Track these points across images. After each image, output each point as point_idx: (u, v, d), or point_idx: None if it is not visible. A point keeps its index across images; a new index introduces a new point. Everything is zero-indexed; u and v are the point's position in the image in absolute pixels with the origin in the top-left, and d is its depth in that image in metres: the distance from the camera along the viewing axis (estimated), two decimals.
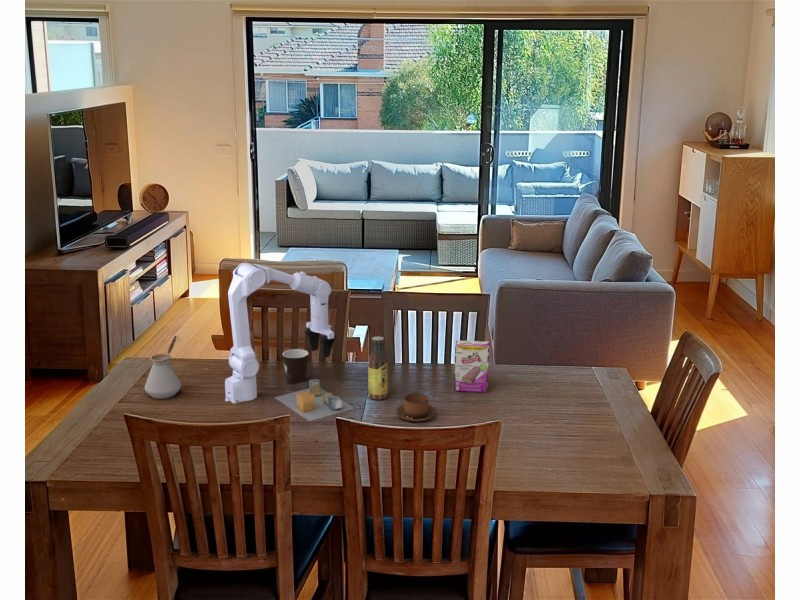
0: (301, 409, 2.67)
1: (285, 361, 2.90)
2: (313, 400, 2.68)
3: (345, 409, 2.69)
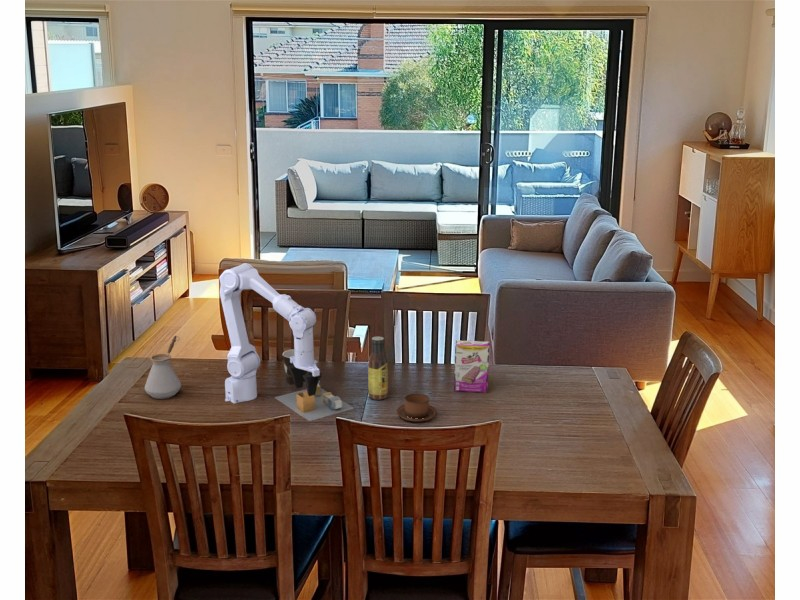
0: (301, 409, 2.67)
1: (285, 361, 2.90)
2: (313, 400, 2.68)
3: (345, 409, 2.69)
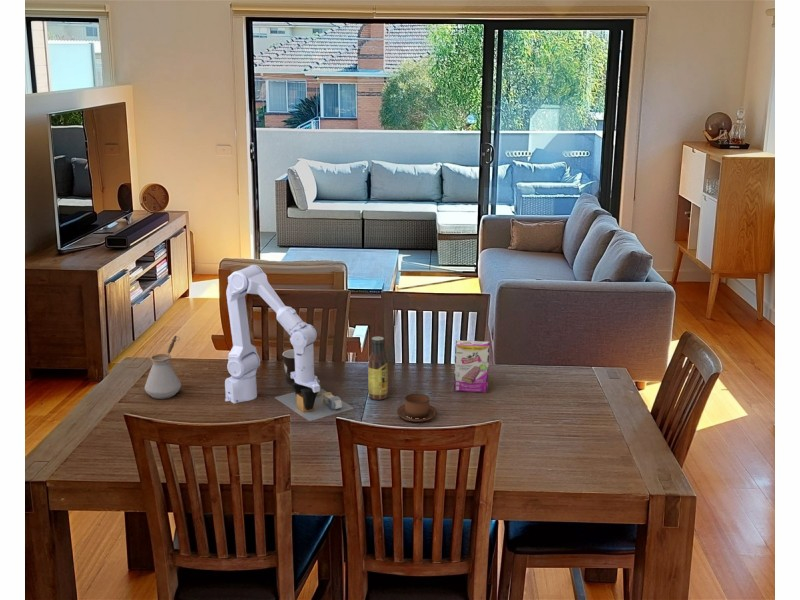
0: (301, 409, 2.67)
1: (285, 361, 2.90)
2: None
3: (345, 409, 2.69)
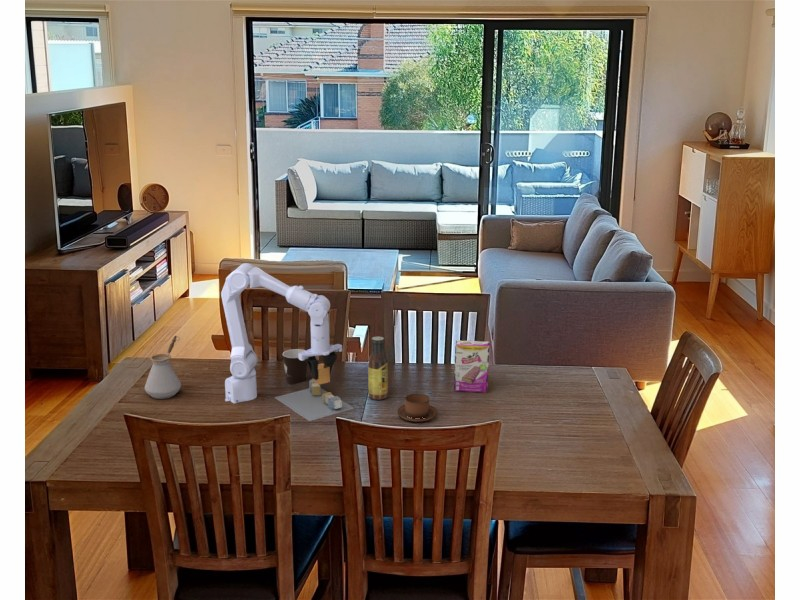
0: None
1: (285, 361, 2.90)
2: None
3: (345, 409, 2.69)
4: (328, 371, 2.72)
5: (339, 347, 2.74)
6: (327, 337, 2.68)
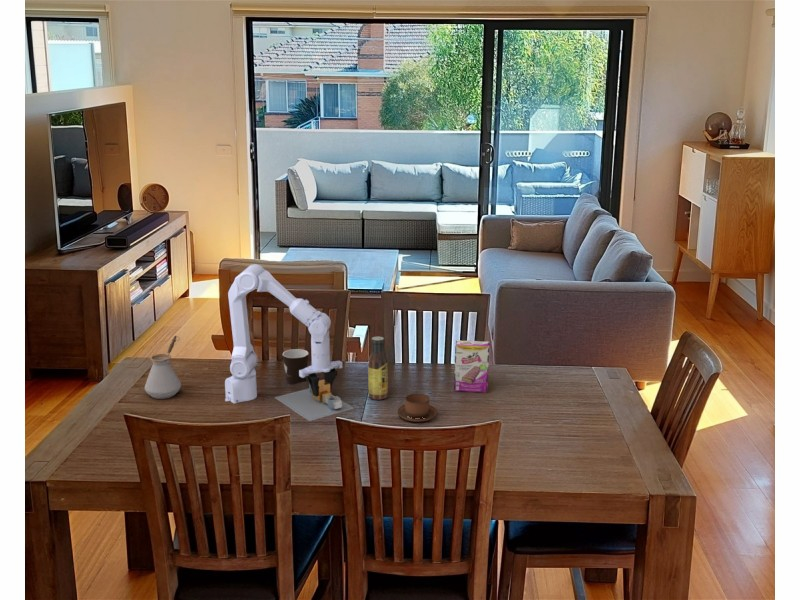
0: None
1: (285, 361, 2.90)
2: (318, 391, 2.72)
3: (345, 409, 2.69)
4: (328, 388, 2.74)
5: (339, 364, 2.75)
6: (327, 354, 2.70)
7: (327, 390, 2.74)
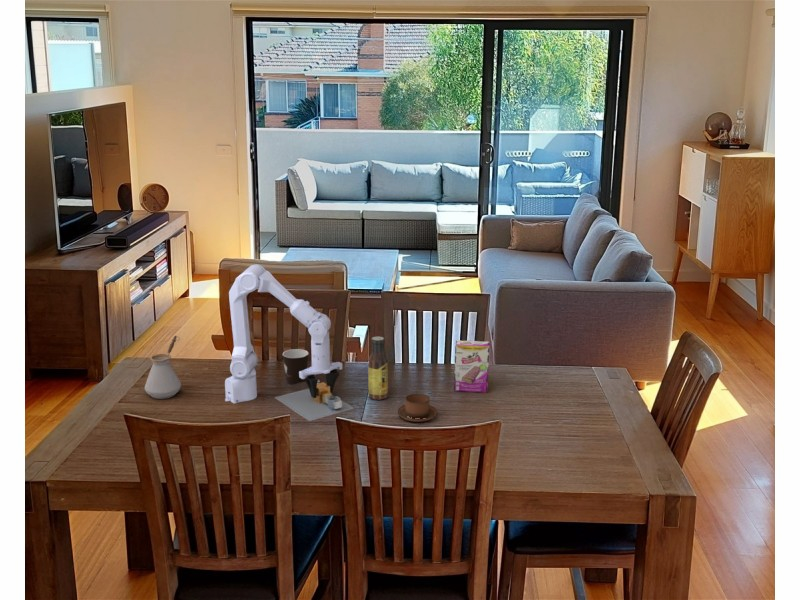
0: None
1: (285, 361, 2.90)
2: (318, 393, 2.73)
3: (345, 409, 2.69)
4: (328, 390, 2.74)
5: (339, 365, 2.76)
6: (328, 355, 2.70)
7: None
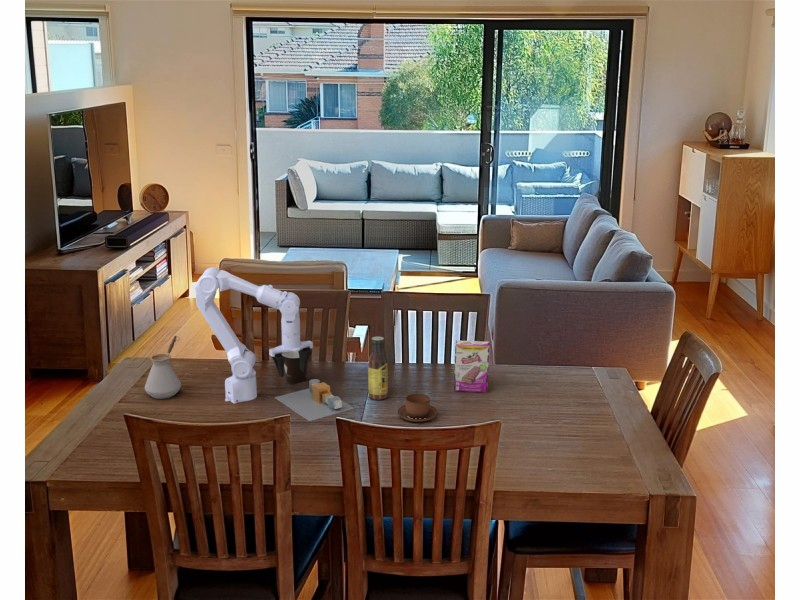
0: None
1: (285, 361, 2.90)
2: (318, 393, 2.73)
3: (345, 409, 2.69)
4: (328, 390, 2.74)
5: (310, 344, 2.77)
6: (297, 334, 2.72)
7: None
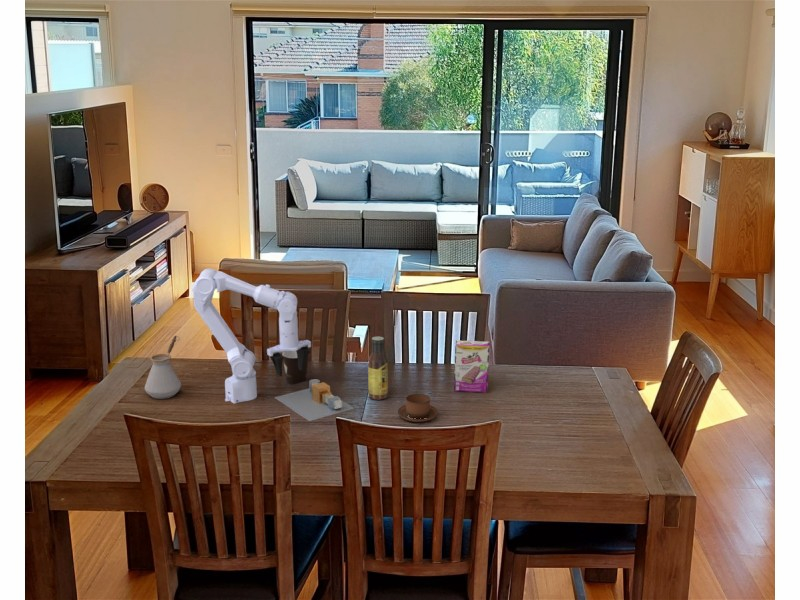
0: None
1: (285, 361, 2.90)
2: (318, 393, 2.73)
3: (345, 409, 2.69)
4: (328, 390, 2.74)
5: (308, 343, 2.77)
6: (295, 333, 2.72)
7: None
